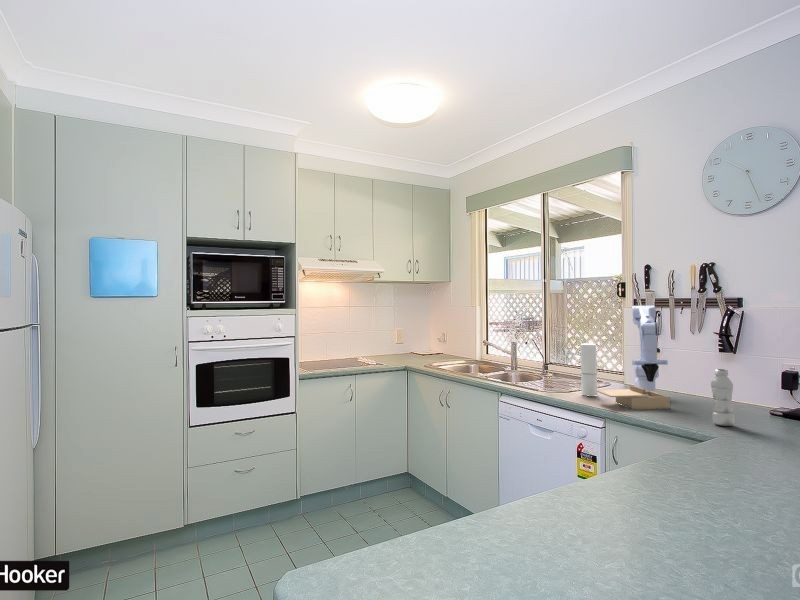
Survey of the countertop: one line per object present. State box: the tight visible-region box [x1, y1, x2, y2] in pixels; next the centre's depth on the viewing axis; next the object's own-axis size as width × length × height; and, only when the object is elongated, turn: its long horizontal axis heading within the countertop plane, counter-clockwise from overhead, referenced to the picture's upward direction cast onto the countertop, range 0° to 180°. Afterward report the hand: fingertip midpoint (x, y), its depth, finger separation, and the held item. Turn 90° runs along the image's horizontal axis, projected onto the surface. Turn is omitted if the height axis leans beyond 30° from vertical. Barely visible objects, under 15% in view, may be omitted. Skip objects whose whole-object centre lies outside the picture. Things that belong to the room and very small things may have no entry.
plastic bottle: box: [710, 368, 736, 427], centre depth 163 cm, size 6×7×20 cm
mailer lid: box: [596, 385, 649, 398], centre depth 198 cm, size 14×16×3 cm
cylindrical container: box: [579, 343, 598, 396], centre depth 223 cm, size 7×7×25 cm
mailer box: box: [615, 391, 671, 410], centre depth 198 cm, size 14×16×5 cm
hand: (650, 381), depth 198 cm, fingers closed
